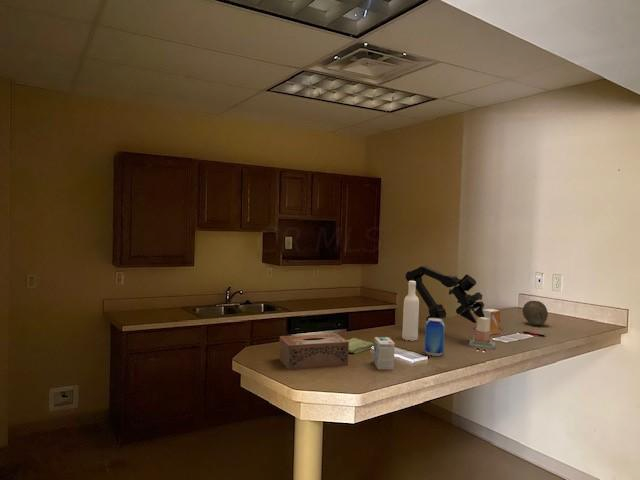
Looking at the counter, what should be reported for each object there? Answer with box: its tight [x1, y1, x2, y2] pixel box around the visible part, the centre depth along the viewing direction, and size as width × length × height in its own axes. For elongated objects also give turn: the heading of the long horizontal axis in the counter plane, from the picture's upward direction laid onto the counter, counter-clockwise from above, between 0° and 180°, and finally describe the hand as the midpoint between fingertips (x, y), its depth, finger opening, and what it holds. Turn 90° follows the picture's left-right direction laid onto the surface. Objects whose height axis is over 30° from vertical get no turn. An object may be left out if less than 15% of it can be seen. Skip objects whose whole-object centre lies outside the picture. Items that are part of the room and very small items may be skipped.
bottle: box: [401, 281, 420, 342], centre depth 237 cm, size 8×8×30 cm
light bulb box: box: [372, 336, 396, 371], centre depth 192 cm, size 11×7×11 cm, turn 5°
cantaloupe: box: [522, 300, 549, 327], centre depth 282 cm, size 14×14×15 cm
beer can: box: [424, 318, 446, 357], centre depth 212 cm, size 8×8×16 cm
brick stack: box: [475, 317, 490, 343], centre depth 230 cm, size 4×4×12 cm
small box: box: [483, 308, 501, 336], centre depth 257 cm, size 8×6×13 cm
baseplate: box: [468, 337, 496, 350], centre depth 231 cm, size 12×12×2 cm
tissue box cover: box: [278, 332, 349, 370], centre depth 194 cm, size 26×14×10 cm, turn 109°
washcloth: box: [346, 337, 374, 355], centre depth 217 cm, size 13×18×3 cm
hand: (480, 321), depth 231 cm, fingers open, 9 cm apart
